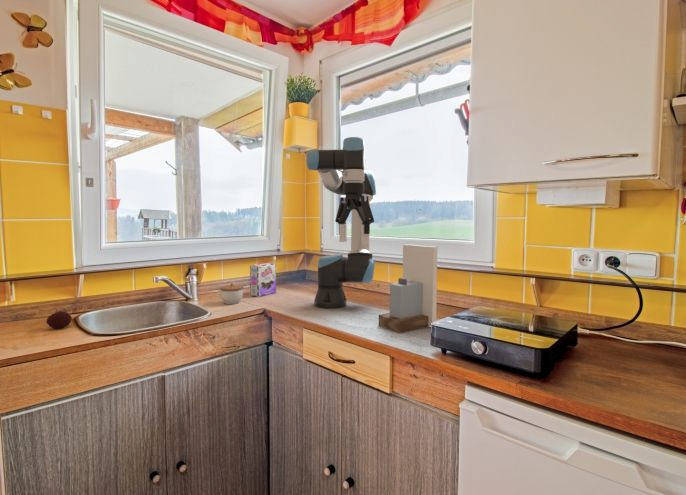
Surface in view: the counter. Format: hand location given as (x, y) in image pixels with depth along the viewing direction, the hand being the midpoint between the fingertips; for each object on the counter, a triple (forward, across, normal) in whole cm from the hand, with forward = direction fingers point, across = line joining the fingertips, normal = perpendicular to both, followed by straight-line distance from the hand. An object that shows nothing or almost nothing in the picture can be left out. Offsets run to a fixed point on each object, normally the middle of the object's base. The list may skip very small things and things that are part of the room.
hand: (353, 242), depth 133 cm
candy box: (+32, -78, -3) cm, 84 cm away
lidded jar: (+32, -68, -23) cm, 79 cm away
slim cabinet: (+28, +7, +20) cm, 35 cm away
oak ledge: (+32, +7, +18) cm, 37 cm away
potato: (+32, -64, -89) cm, 114 cm away
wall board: (+32, +7, +26) cm, 42 cm away
